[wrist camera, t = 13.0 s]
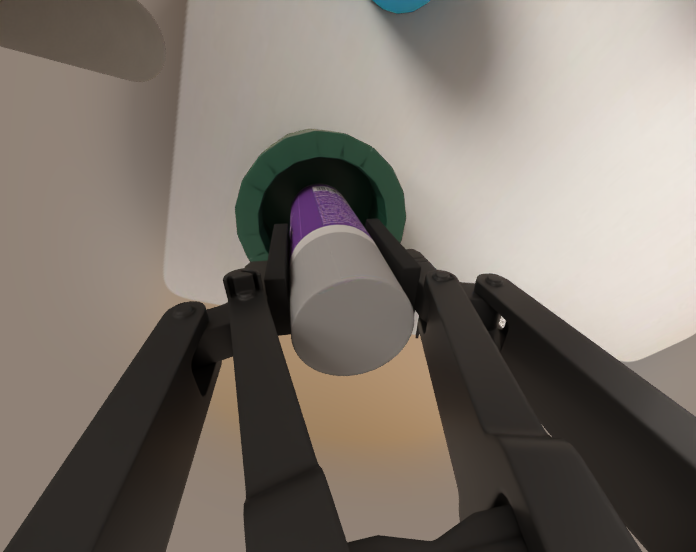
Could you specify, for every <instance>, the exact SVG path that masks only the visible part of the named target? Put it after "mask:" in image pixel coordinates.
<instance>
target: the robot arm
mask: <svg viewBox="0 0 696 552" xmlns="http://www.w3.org/2000/svg"><path fill="white" fill-rule="evenodd" d="M366 231H367V232H368V233H369V235H370V236H371V238H372V239H373V241H374V242H375V244H376V246H377V248H378V249H379V251H380V253H381V254H382V256H383V257H384V259H385V261H386V262H387V264H388V266H389V267H390V269H391V271H392V272H393V274H394V276H395V277H396V279H397V281H398V282H399V284H400V286H401V287H402V289H403V291H404V292H405V294H406V296H407V297H408V299H409V301H410V303H411V305H412V308H413V312H415V310H416V312H417V313H418V315H419V318H418V325H417V331H416V338H418V336H419V334H420V336H421V340H422V344H423V348H424V353H425V357H426V361H427V365H428V369H429V373H430V377H431V381H432V385H433V389H434V393H435V397H436V401H437V405H438V410H439V414H440V418H441V421H442V426H443V430H444V434H445V438H446V442H447V446H448V450H449V454H450V458H451V462H452V466H453V471H454V474H455V479H456V483H457V487H458V492H459V517H460V523H459V524H457V525H456V526H454V527H453V528H452V529H450V530H449V531H447V532H446V533H445V534H443V535H442V536H441V537H439V538H438V539H436V540H433V541H424V540H415V539H406V538H397V537H388V536H380V535H377V536H373V537H369V538H365V539H360V540H356V541H352V542H347V541H346V539H345V535H344V532H343V529H342V526H341V523H340V520H339V517H338V513H337V510H336V507H335V504H334V501H333V498H332V495H331V492H330V489H329V486H328V483H327V480H326V477H325V474H324V472H323V470H322V468H321V467H320V466H319V464H318V462H317V459H316V457H315V453H314V450H313V447H312V444H311V441H310V437H309V434H308V431H307V428H306V424H305V421H304V418H303V415H302V412H301V409H300V405H299V402H298V399H297V396H296V392H295V389H294V386H293V383H292V380H291V376H290V373H289V370H288V367H287V364H286V360H285V358H284V354H283V351H282V348H281V345H280V342H279V338H278V336H279V335H288V334H291V315H290V283H289V247H290V241H289V232H288V223H286V224H274V228H273V233H272V239H271V244H270V250H269V255H268V260H266V261H253V262H250V263H249V264H248V265H247V266H245V268H243V269H238V270H234V271H232V272H230V273H228V274H227V275H225V276H224V278H223V283H224V286H225V290H226V294H227V298H228V303H226V304H223V305H221V306H218V307H214V308H211V309H207V310H206V307H205V305H204V304H203V303H200V302H193V301H190V302H184V303H180V304H178V305H176V306H174V307H172V308H171V309H169V310H168V311H167V312H166V313H165V314H164V315H163V316H162V318H161V319H160V321H159V322H158V324H157V326H156V327H155V328H154V330H153V331H152V333H151V334H150V336H149V337H148V339H147V340H146V341H145V343H144V344H143V346H142V347H141V349H140V350H139V352H138V353H137V355H136V356H135V358H134V359H133V361H132V362H131V364H130V365H129V367H128V368H127V370H126V371H125V372H124V374H123V375H122V377H121V378H120V380H119V381H118V383H117V384H116V386H115V387H114V389H113V390H112V392H111V393H110V395H109V396H108V398H107V399H106V401H105V402H104V404H103V405H102V407H101V408H100V410H99V411H98V412H97V414H96V415H95V417H94V419H93V420H92V421H91V423H90V424H89V426H88V427H87V429H86V430H85V432H84V433H83V435H82V436H81V438H80V439H79V440H78V442H77V444H76V445H75V447H74V448H73V449H72V451H71V452H70V454H69V455H68V457H67V458H66V460H65V461H64V463H63V464H62V466H61V467H60V469H59V470H58V471H57V473H56V474H55V476H54V477H53V479H52V480H51V482H50V483H49V485H48V486H47V488H46V489H45V491H44V492H43V494H42V495H41V497H40V498H39V500H38V501H37V502H36V504H35V505H34V507H33V508H32V510H31V511H30V513H29V514H28V516H27V517H26V519H25V520H24V522H23V523H22V525H21V526H20V528H19V529H18V531H17V532H16V534H15V535H14V537H13V538H12V539H11V541H10V543H9V544H8V545H7V547H6V548H5V550H4V551H3V552H166V548H167V545H168V542H169V538H170V535H171V532H172V528H173V525H174V521H175V518H176V515H177V511H178V508H179V504H180V501H181V498H182V494H183V491H184V488H185V485H186V481H187V478H188V475H189V471H190V468H191V464H192V461H193V458H194V454H195V451H196V448H197V444H198V441H199V438H200V434H201V431H202V428H203V424H204V421H205V418H206V414H207V411H208V407H209V404H210V401H211V398H212V394H213V390H214V387H215V384H216V381H217V377H218V374H219V370H220V367H221V363H222V360H224V359H226V358H230V357H232V356H233V360H234V370H235V381H236V390H237V402H238V412H239V423H240V434H241V444H242V455H243V466H244V476H245V486H246V500H245V503H244V530H245V543H246V552H642V551H641V549H640V548H639V546H638V545H637V543H636V542H635V540H634V539H633V537H632V535H631V534H630V532H629V531H628V529H629V530H630V531H631V533H632V534H633V535H634V536H635V537H636V538H637V539H638V540H639V542H640V543H641V544H642V545H643V546H644V547H645V548H646V550H647V551H648V552H696V417H695V416H694V415H693V414H691V413H690V412H688V411H687V410H686V409H684V408H683V407H682V406H680V405H679V404H677V403H676V402H675V401H673V400H672V399H671V398H669V397H668V396H666V395H665V394H664V393H662V392H661V391H660V390H658V389H657V388H656V387H654V386H653V385H651V384H650V383H649V382H647V381H646V380H645V379H643V378H642V377H640V376H639V375H638V374H636V373H635V372H634V371H632V370H631V369H629V368H628V367H627V366H625V365H624V364H623V363H621V362H620V361H618V360H617V359H616V358H614V357H613V356H612V355H610V354H609V353H608V352H606V351H605V350H603V349H602V348H601V347H599V346H598V345H597V344H595V343H594V342H592V341H591V340H590V339H588V338H587V337H586V336H584V335H583V334H581V333H580V332H579V331H577V330H576V329H575V328H573V327H572V326H570V325H569V324H568V323H566V322H565V321H564V320H562V319H561V318H560V317H558V316H557V315H555V314H554V313H553V312H551V311H550V310H549V309H547V308H546V307H544V306H543V305H542V304H540V303H539V302H538V301H536V300H535V299H533V298H532V297H531V296H529V295H528V294H527V293H525V292H524V291H522V290H521V289H520V288H518V287H517V286H516V285H514V284H513V283H512V282H510V281H509V280H507V279H505V278H504V277H501V276H499V275H496V274H481V275H479V276H477V279H476V282H475V284H474V283H462V282H459V280H458V279H457V277H456V276H455V275H453V274H452V273H450V272H446V271H442V270H437V269H436V268H435V267H434V266H433V265H432V264H431V263H430V262H428V260H427V259H426V258H425V257H424V256H423V255H422V254H421V253H420V252H418V251H416V250H414V249H407V250H406V249H405V248H404V247H403V246H402V245H401V244H400V243H399V241H398V240H397V239H396V238H395V237H394V236H393V235H392V234H391V232H390V231H389V230H388V229H387V228H386V227H385V226H384V225H383V223H382V222H381V221H380V220H379V219H366ZM501 316H502V317H503V318H504V319H505V320H506V323H505V326H504V328H502V327H501V326H500V325H499V321H500V318H501ZM541 424H542V425H543V426H544V428H545V429H546V430H547V431H548V432H549V434H550V435H551V436H552V437H553V438H552V437H551V436H549V435H548V434H547V433H546V431H545V430H544V428H543V427H542V425H541ZM627 528H628V529H627Z"/></svg>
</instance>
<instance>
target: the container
mask: <svg viewBox="0 0 696 552" xmlns="http://www.w3.org/2000/svg"><path fill="white" fill-rule="evenodd" d="M289 283H290V315H291V339H292V344H293V347H294V350H295V352H296V353H297V355H298V356H299V358H300V359H301V360H302V361H303V362H304V363H305V364H307V365H308V366H309V367H311V368H313V369H314V370H317V371H319V372H322V373H325V374H329V375H336V376H350V375H358V374H362V373H366V372H369V371H372V370H375V369H377V368H379V367H381V366H383V365H384V364H386V363H387V362H389V361H390V360H392V359H393V358H394V357H395V356H396V355H397V354H398V353H399V352H400V351H401V350H402V349H403V348H404V346H405V345H406V344H407V342H408V340H409V338H410V336H411V333H412V331H413V326H414V312H413V308H412V305H411V303H410V301H409V299H408V297H407V296H406V294H405V292H404V291H403V289H402V287H401V286H400V284H399V282H398V281H397V279H396V277H395V276H394V274H393V272H392V271H391V269H390V267H389V266H388V264H387V262H386V261H385V259H384V257H383V256H382V254H381V253H380V251H379V249H378V248H377V246H376V244H375V242H374V241H373V239H372V238H371V236H370V235H369V233H368V232H367V231H366V229H365V228H364V226H363V225H362V223H361V222H360V220H359V219H358V217H357V216H356V215H355V213H354V212H353V210H352V209H351V207H350V206H349V204H348V203H347V201H346V200H345V199H344V197H343V196H342V194H341V193H340V192H339V191H338V190H337V189H335V188H334V187H332V186H330V185H327V184H322V183H316V184H311V185H308V186H306V187H304V188H302V189H301V190H300V191H299V192H298V193H297V194H296V196H295V197H294V199H293V201H292V205H291V213H290V247H289Z"/></svg>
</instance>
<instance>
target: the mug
mask: <svg viewBox="0 0 696 552" xmlns="http://www.w3.org/2000/svg"><path fill="white" fill-rule="evenodd" d="M372 1H374V2H375V3H376V4H377V5H378V6H379V7H381V8H382V9H384V10H387V11H390V12H394V13H397V14H400V13H407V12H413V11H415V10H417V9H418V8H420V7H422V6H424V5H425V4H427V3H428V2H429V1H430V0H372Z"/></svg>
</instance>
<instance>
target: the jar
mask: <svg viewBox="0 0 696 552" xmlns="http://www.w3.org/2000/svg"><path fill="white" fill-rule="evenodd" d="M316 183H322V184H327V185H330V186H332V187H334V188H335V189H337V190H338V191H339V192H340V193H341V194H342V196H343V197H344V199H345V200H346V201H347V203H348V204H349V206H350V207H351V209H352V210H353V212H354V213H355V215H356V216H357V217H358V219H359V220H360V222H361V223H362V225H363V226H364V228H365V229H366V219H379V220H380V221H381V222H382V223H383V225H384V226H385V227H386V228H387V229H388V230H389V231H390V232H391V234H392V235H393V236H394V237H395V238H396V239H397V240H398V241H399V243H401V240H402V235H403V230H404V225H405V221H406V211H405V201H404V193H403V190H402V188H401V186H400V183H399V181H398V179H397V177H396V174H395V172H394V170H393V168H392V167H391V166H390V165H389V164H388V162H387V161H386V160H385V159H384V158H383V157H382V156H381V155H380V154H379V153H378V152H377V151H376V150H375V149H374V148H372V146H370V145H368V144H366V143H364V142H362V141H360V140H358V139H356V138H354V137H352V136H350V135H348V134H344V133H339V132H333V131H325V130H317V129H306V130H302V131H298V132H294V133H290V134H287V135H286V136H284V137H283V138H281V139H280V140H278V141H277V142H276V143H274V144H273V145H271V146H270V147H269V148H268V149H266V150H265V151H264V152H263V153H262V154H261V155H260V156H259V157H258V158H257V160H256V161H255V163H254V164H253V165H252V167H251V168H250V170H249V171H248V173H247V174H246V175H245V177H244V178H243V180H242V183H241V187H240V190H239V194H238V198H237V202H236V206H235V214H236V225H237V235H238V238H239V240H240V242H241V244H242V246H243V249H244V251H245V253H246V255H247V258H248V259H249V261H250V262H253V261H266V260H268V255H269V250H270V244H271V239H272V233H273V228H274V224H286V223H288V232H289V241H290V213H291V205H292V201H293V199H294V197H295V196H296V194H297V193H298V192H299V191H300V190H301V189H302V188H304V187H306V186H308V185H311V184H316Z"/></svg>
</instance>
